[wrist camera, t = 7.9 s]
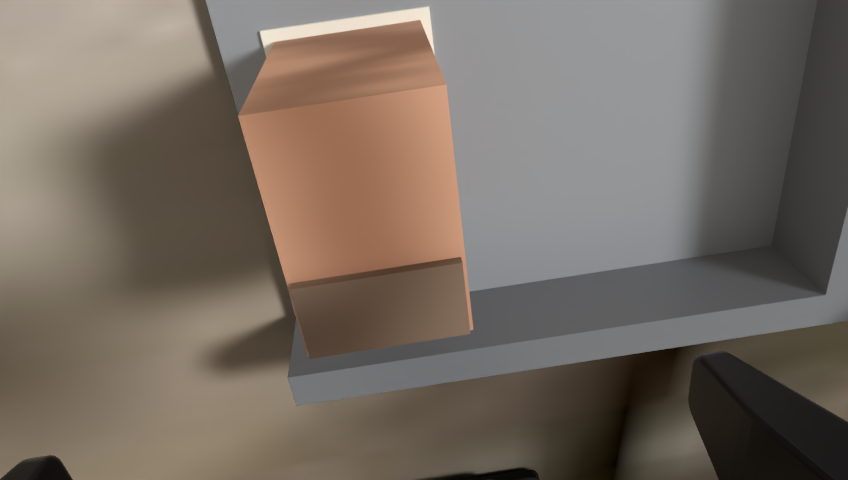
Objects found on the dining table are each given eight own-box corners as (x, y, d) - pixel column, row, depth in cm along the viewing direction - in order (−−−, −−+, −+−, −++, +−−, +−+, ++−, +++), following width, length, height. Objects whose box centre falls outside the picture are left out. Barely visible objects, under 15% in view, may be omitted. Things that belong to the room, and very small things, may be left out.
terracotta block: (420, 19, 17) (448, 88, 12) (444, 212, 20) (475, 336, 15) (274, 41, 17) (235, 120, 12) (320, 231, 20) (306, 362, 15)
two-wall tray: (792, 262, 23) (855, 319, 20) (304, 337, 23) (296, 405, 20) (870, -109, 17) (976, -105, 14) (205, -13, 17) (173, 12, 14)
